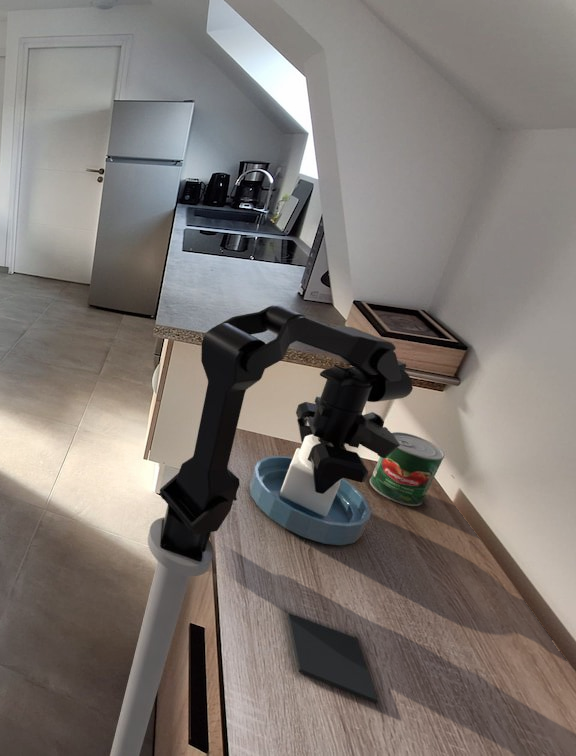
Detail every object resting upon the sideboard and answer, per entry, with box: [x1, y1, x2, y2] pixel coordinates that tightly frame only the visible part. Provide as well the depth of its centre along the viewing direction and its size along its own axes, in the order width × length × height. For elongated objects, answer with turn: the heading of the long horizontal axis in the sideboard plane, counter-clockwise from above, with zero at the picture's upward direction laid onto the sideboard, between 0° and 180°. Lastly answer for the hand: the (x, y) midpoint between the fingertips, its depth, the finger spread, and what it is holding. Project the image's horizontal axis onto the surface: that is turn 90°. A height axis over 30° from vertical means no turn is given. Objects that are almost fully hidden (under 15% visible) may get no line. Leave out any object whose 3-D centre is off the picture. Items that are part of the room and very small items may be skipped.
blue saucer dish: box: [248, 455, 371, 546], centre depth 83 cm, size 17×17×5 cm
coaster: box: [287, 612, 379, 704], centre depth 59 cm, size 8×8×1 cm
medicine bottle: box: [280, 434, 341, 517], centre depth 80 cm, size 7×7×12 cm
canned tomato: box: [369, 431, 446, 507], centre depth 87 cm, size 8×8×11 cm
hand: (313, 477), depth 81 cm, fingers closed on medicine bottle, 8 cm apart
